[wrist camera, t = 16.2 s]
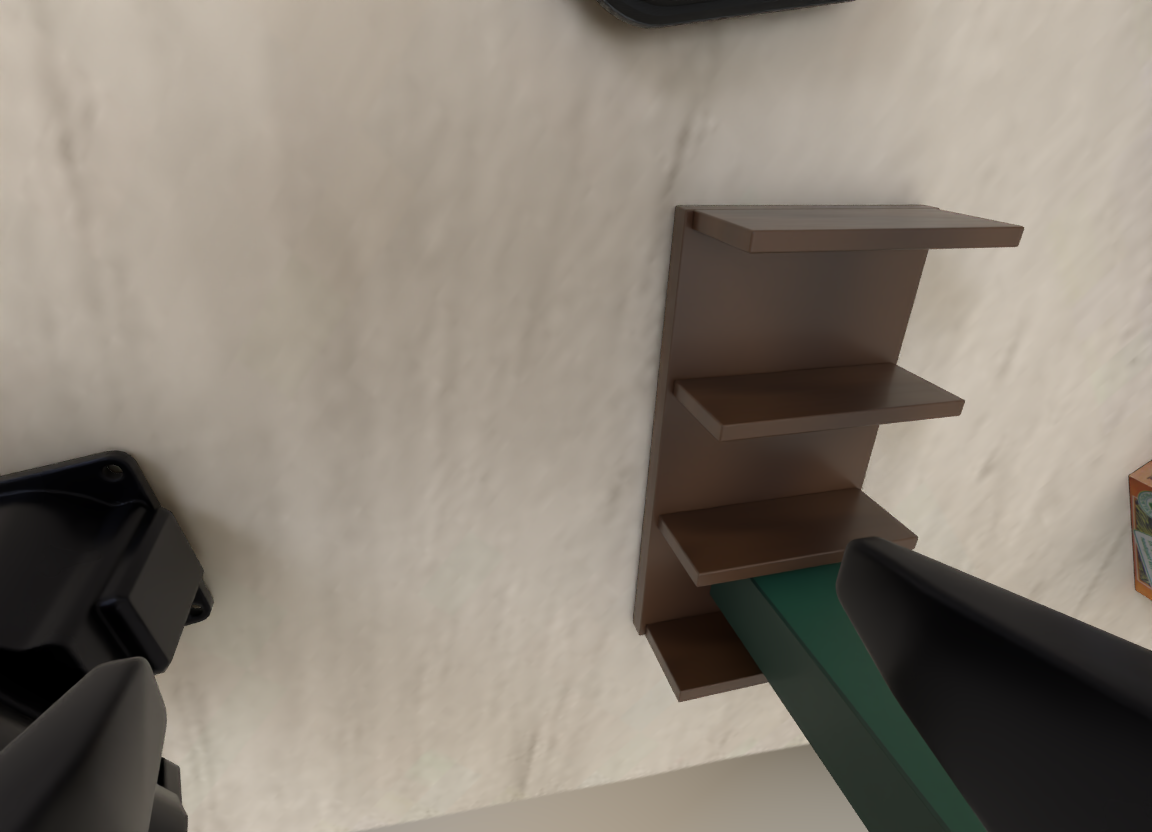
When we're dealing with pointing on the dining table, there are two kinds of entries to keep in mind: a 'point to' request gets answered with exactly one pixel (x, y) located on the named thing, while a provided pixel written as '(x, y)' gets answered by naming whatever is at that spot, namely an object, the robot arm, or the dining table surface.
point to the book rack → (777, 406)
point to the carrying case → (697, 10)
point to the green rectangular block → (842, 701)
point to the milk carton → (1142, 527)
